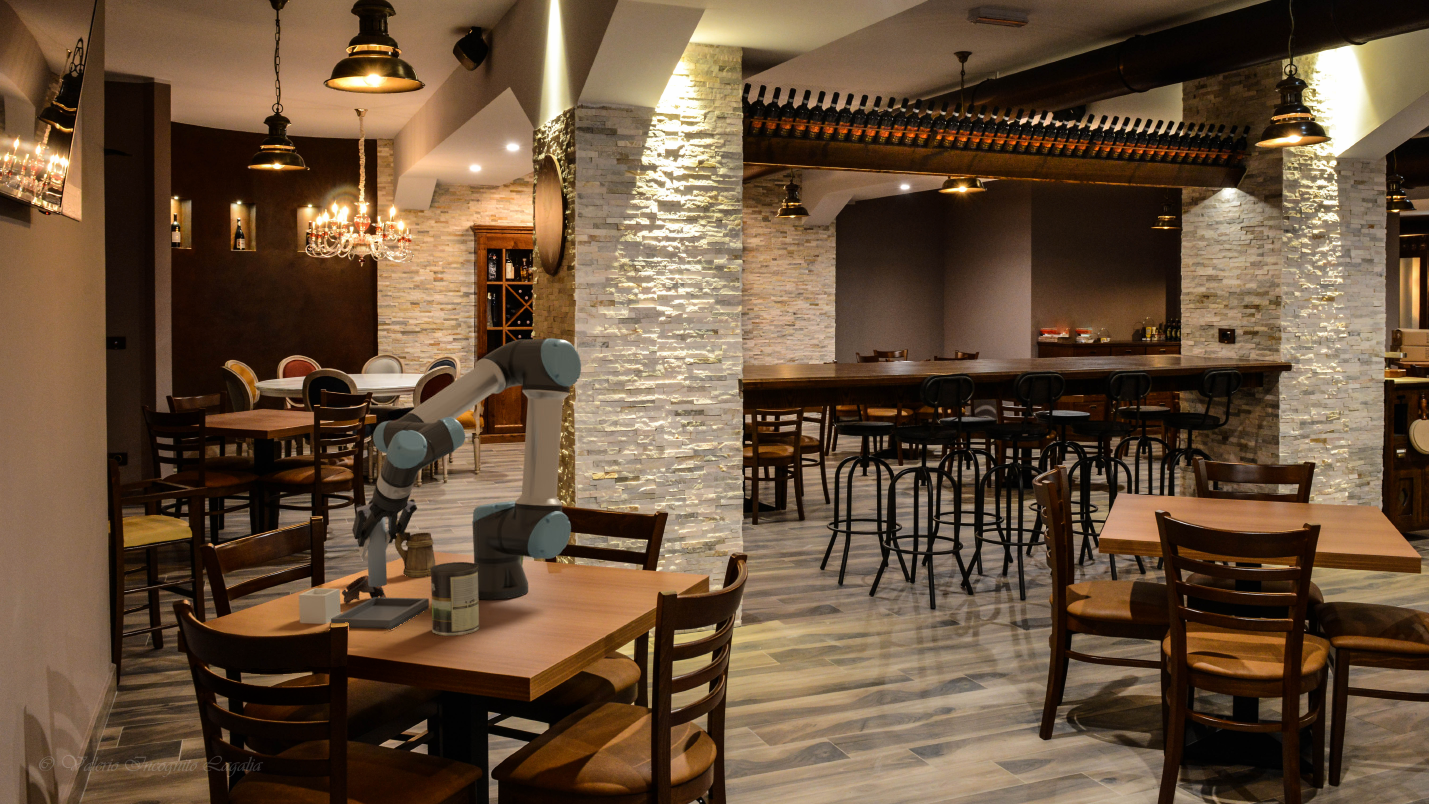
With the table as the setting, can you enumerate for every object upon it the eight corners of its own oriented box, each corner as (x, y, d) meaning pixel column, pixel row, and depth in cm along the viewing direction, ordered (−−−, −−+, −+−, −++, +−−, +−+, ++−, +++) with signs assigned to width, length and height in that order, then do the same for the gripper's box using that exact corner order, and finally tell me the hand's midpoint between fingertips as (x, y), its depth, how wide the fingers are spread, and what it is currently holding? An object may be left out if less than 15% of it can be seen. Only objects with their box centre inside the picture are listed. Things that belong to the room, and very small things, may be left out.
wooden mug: (389, 572, 288) (387, 508, 287) (439, 570, 290) (437, 506, 289) (384, 579, 279) (382, 513, 278) (436, 576, 281) (434, 511, 280)
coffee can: (427, 636, 221) (425, 572, 221) (437, 624, 232) (435, 562, 231) (476, 635, 222) (474, 570, 221) (483, 622, 232) (481, 561, 232)
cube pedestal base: (340, 618, 238) (339, 588, 237) (326, 626, 231) (325, 595, 231) (315, 618, 239) (314, 588, 238) (299, 625, 232) (298, 594, 232)
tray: (429, 608, 246) (428, 598, 246) (390, 631, 226) (390, 620, 226) (374, 607, 248) (373, 597, 248) (331, 629, 228) (330, 618, 228)
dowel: (389, 583, 237) (387, 505, 237) (381, 586, 233) (379, 508, 233) (373, 582, 238) (371, 505, 237) (365, 586, 234) (363, 508, 233)
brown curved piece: (383, 611, 246) (364, 584, 244) (351, 627, 247) (331, 600, 245) (399, 587, 257) (380, 561, 255) (367, 603, 259) (349, 577, 257)
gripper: (358, 504, 217) (337, 569, 231) (436, 497, 227) (411, 559, 242) (350, 477, 221) (330, 542, 235) (426, 471, 232) (403, 534, 246)
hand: (371, 551), depth 238 cm, fingers closed on dowel, 4 cm apart
